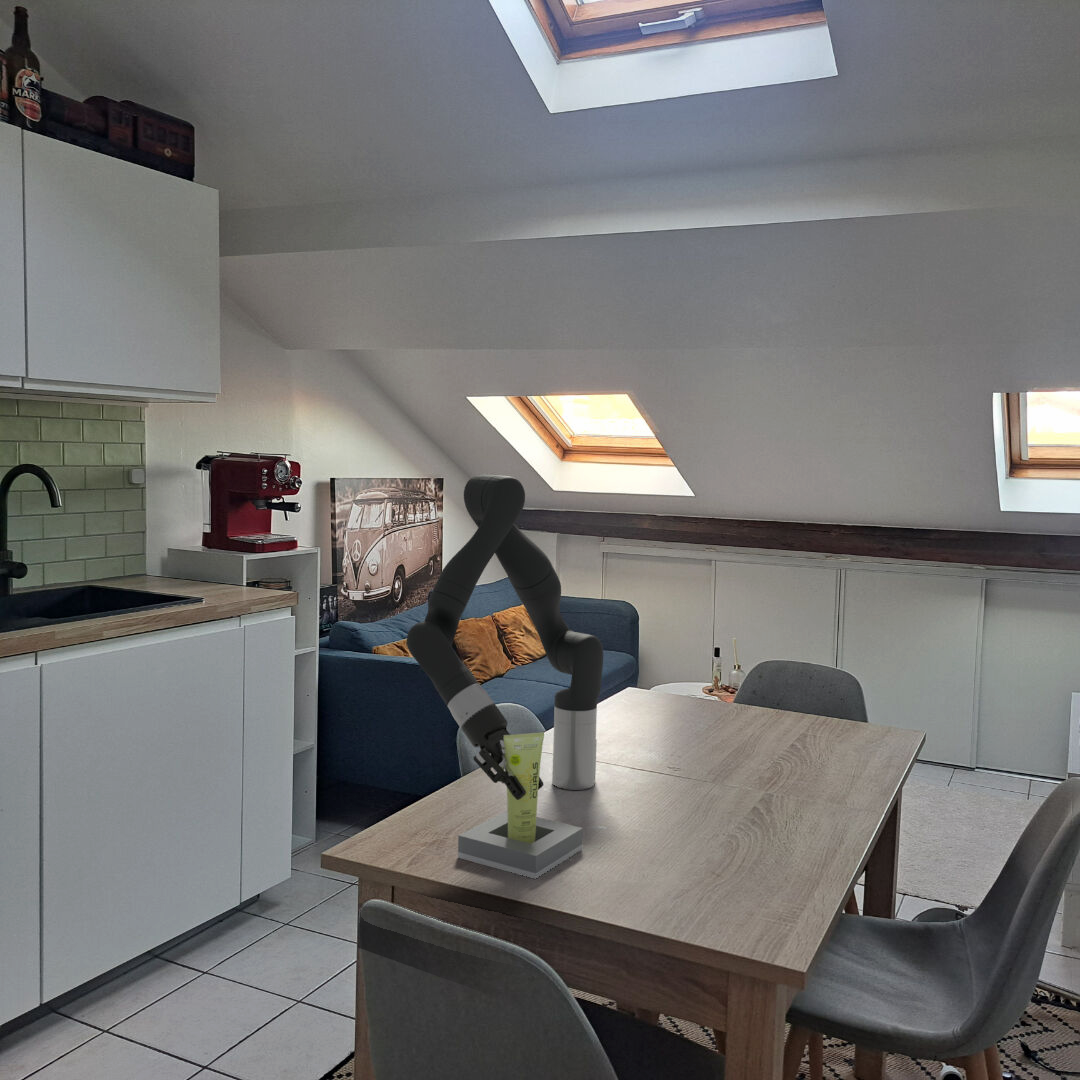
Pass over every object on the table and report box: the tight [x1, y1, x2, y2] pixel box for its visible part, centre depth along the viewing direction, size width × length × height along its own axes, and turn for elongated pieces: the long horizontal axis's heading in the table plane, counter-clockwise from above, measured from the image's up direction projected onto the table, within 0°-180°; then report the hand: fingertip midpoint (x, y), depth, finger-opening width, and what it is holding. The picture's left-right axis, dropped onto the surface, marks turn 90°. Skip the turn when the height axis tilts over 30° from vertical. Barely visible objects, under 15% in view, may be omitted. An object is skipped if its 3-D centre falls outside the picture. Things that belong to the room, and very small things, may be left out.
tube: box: [504, 731, 545, 844], centre depth 177 cm, size 6×5×20 cm
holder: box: [457, 810, 584, 880], centre depth 178 cm, size 16×16×4 cm
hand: (530, 792), depth 176 cm, fingers closed on tube, 5 cm apart
